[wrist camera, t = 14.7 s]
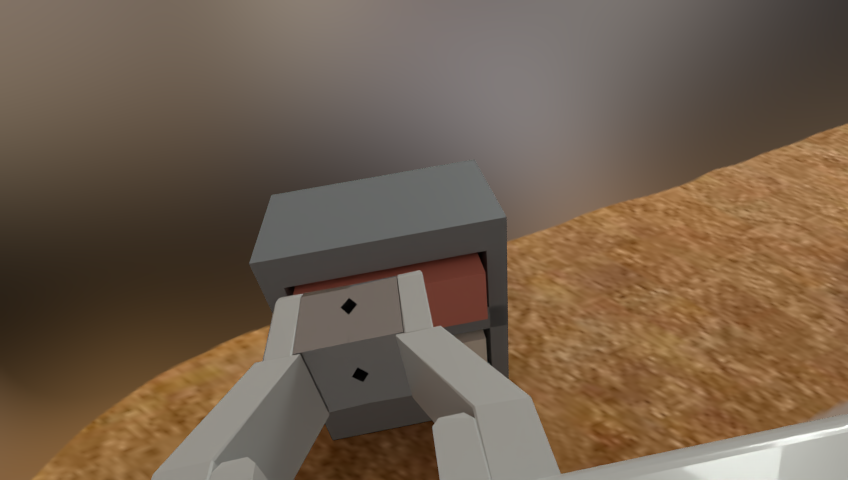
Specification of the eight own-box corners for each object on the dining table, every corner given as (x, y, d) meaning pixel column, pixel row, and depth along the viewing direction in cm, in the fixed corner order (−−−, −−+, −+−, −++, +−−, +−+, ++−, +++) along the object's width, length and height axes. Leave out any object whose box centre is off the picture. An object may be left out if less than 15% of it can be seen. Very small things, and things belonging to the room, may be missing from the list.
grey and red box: (508, 405, 31) (506, 217, 21) (332, 440, 31) (249, 263, 21) (484, 333, 37) (474, 159, 27) (336, 362, 36) (271, 195, 27)
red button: (487, 318, 24) (485, 272, 22) (309, 352, 23) (290, 308, 21) (471, 273, 27) (468, 229, 25) (315, 302, 27) (299, 260, 25)
